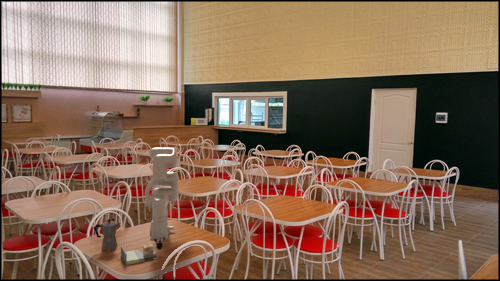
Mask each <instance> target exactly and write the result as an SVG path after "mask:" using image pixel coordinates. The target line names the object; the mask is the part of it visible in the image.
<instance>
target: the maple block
mask: <svg viewBox="0 0 500 281" xmlns="http://www.w3.org/2000/svg"><path fill="white" fill-rule="evenodd" d="M153 249H154V245H153V244H152V243H150V244H144V245H142V251H143V253H144V254H150V253H153Z"/></svg>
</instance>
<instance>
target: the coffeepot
mask: <svg viewBox="0 0 500 281" xmlns="http://www.w3.org/2000/svg"><path fill="white" fill-rule="evenodd" d="M120 225H121V222H117V221H111V218H108V219H107V221H106V222H102V223H99V224H95V226H93V230H94V233H95V235H96V237H97V238H101V237H102V236H103V238H102V243H101V249H102V250H104V251H114V250H115V249H117V248H118V242H117V237H116V234H117V229H118V228H119V226H120ZM98 228H101V232H102V235H100V233H99V232H98Z"/></svg>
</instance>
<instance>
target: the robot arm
mask: <svg viewBox="0 0 500 281" xmlns="http://www.w3.org/2000/svg"><path fill="white" fill-rule="evenodd" d="M148 154H149V158H150V159H151V162H152V178H151V180H150V181H149V182H148V183H147V185H146V187H145V188H144V189H145V190H144V205H145V207H147V208H152V220H151V221H150V226H149V227H150V228H149V241H151V242H154V243H156V244H155V246H156V247H155V248H156V249H157V250H158V251H159V250H162V248H163V242H164V241H165V240H166V239H168V238H169V234H170V233H171V231H170V230H175V226H172V225H170V226H169V225H168V222H169V220H168V219H169V216H168V214H169V213H168V205H169V203H170V202H177V200H178V199H179V177H178V173H177V172H175V171H167V170H168V169H169V168H171V169H172V168H176V166H177V163H178V162H177V157H178V156H177V150H176V148H175V147H153V148H150V149H149V153H148ZM167 168H168V169H167ZM154 186H158V187H156V188H154V189H153V190H152V188H153V187H154ZM151 190H152V191H151ZM150 191H151V192H150Z"/></svg>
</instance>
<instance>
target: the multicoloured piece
mask: <svg viewBox="0 0 500 281" xmlns="http://www.w3.org/2000/svg"><path fill="white" fill-rule="evenodd" d="M120 257H121V259H122V260H123V263H124V265H125V266H128V265H132V264H137V263H138V264H139V263H143V262H149V261H156V260H159V258H158V255H157V252H156V250H155V249H154V248H153V253H150V254H144V253H143V250H142V251H140V250H139V249H134V250H133V249H132V250H128V251H127V250H126V251H125V248H124V247H123V245H120Z"/></svg>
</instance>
